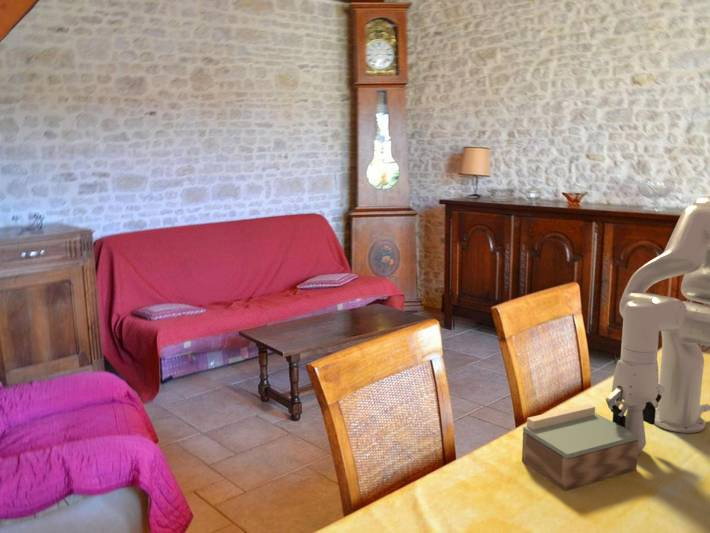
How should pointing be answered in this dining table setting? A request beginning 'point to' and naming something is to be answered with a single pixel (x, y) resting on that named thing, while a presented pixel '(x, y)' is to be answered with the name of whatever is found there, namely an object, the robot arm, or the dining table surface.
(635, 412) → the salt shaker
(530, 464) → the toolbox
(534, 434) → the lid
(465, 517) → the dining table surface
